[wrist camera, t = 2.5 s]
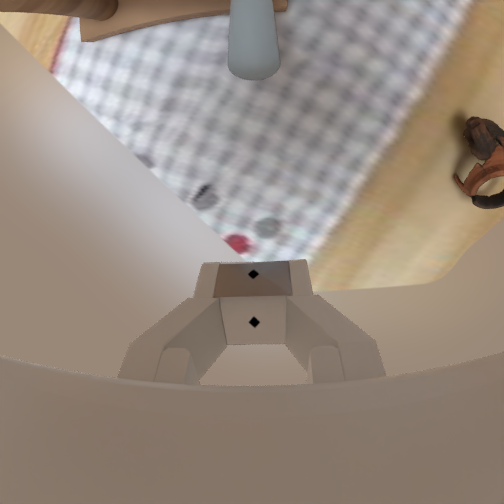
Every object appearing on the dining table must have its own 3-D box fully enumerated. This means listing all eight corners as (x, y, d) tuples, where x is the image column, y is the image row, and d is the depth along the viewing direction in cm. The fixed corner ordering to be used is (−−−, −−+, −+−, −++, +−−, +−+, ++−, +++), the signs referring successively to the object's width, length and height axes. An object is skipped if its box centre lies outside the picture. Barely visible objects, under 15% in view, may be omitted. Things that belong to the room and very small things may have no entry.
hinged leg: (230, -35, 17) (224, 47, 14) (268, -37, 17) (280, 45, 14) (234, -9, 20) (230, 81, 17) (269, -11, 20) (280, 79, 17)
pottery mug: (512, 146, 29) (535, 197, 25) (459, 172, 36) (474, 223, 32) (484, 83, 23) (516, 135, 19) (420, 119, 30) (439, 173, 26)
